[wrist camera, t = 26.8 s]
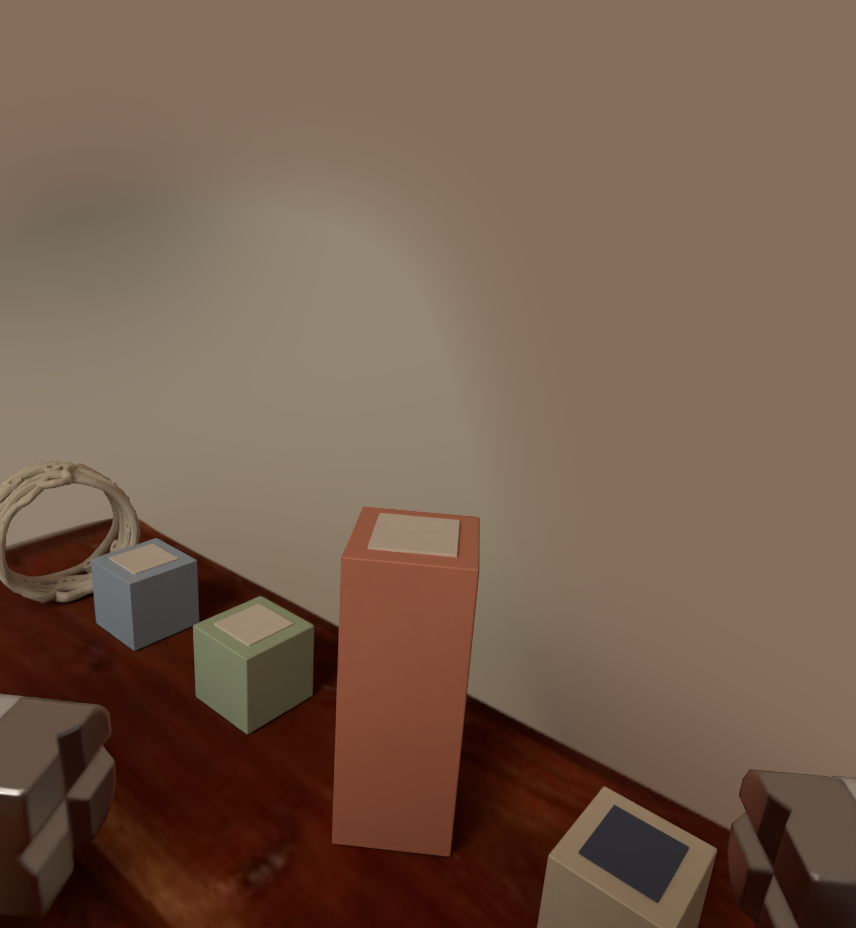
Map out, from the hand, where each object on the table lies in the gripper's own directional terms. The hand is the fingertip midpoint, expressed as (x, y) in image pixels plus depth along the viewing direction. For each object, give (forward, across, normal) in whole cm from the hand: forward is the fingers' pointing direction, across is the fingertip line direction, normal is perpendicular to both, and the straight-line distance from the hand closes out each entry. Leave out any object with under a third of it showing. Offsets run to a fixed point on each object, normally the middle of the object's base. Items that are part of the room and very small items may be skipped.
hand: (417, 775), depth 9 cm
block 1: (+27, +17, +16) cm, 35 cm away
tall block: (+16, +1, +16) cm, 22 cm away
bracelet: (+29, +23, +16) cm, 40 cm away
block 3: (+11, -7, +16) cm, 20 cm away
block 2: (+21, +9, +16) cm, 28 cm away
